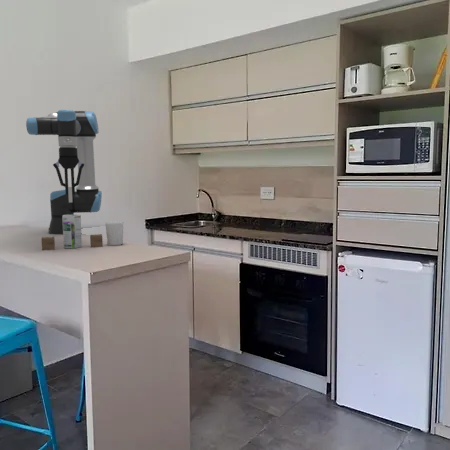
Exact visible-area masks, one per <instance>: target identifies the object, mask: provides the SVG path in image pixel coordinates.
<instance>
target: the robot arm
mask: <svg viewBox="0 0 450 450" xmlns="http://www.w3.org/2000/svg"><path fill="white" fill-rule="evenodd" d="M96 115H97V114H96V113H95V112H94V111H90V110H89V111H87V110H73V109H72V110H71V109H59V110H57V111H56V112H52V113H49V114H48V115H47V116H46V115H45V116H42V117H36V116H35V117H28V118H26V123H25V126H26V131H27V133H28V134H29V135H31V136H32V135H33V136H57V137H58V138H57V139H58V140H57V141H58V147H59V148H58V160H57V161H56V162H55V163H53V164H52V166H53V167H54V169H55V170H56V174H57V177H58V181H59V183H60V186H61V187H63V188H65V189H61V190H54V191H51V192H50V198H49V201H50V218H51V219H50V223H49V227H48V234H51V235H52V234H54V235H60V234H61V235H63V221H62V215H66V214H73V215H75V214H77V213H81V214H82V213H83V214H84V213H90V214H92V213H97V212H100V211H101V205H102V191H101V190H99V187H98V186H97V184H96V172H95V171H96V169H95V152H94V151H95V150H94V140H95V139H96V137H97V134H99V131H100V130H99V125H98V119H97V116H96ZM60 166H61V167H62V169H64V181H63V177H62V173H61V170H60ZM76 167H77V177H76V182H75V170H74V169H75V168H76ZM69 170H70V180H71V186H69V179H68V177H69V175H68V171H69ZM75 187H76V188H75ZM75 190H76V191H75Z"/></svg>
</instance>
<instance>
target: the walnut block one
mask: <svg viewBox="0 0 450 450" xmlns="http://www.w3.org/2000/svg"><path fill="white" fill-rule="evenodd" d="M89 237H90V238H89V239H90V240H89V242H90V248H101V247H102V248H103V247H104V245H103V242H104V241H103V233H102V234H101V233H100V234H99V233H98V234H96V233H95V234H89Z"/></svg>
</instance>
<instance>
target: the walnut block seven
mask: <svg viewBox="0 0 450 450" xmlns="http://www.w3.org/2000/svg"><path fill="white" fill-rule="evenodd" d="M55 249H56V243H55V236H41V251H50V250H51V251H52V250H53V251H54V250H55Z"/></svg>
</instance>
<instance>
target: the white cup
mask: <svg viewBox="0 0 450 450" xmlns="http://www.w3.org/2000/svg"><path fill="white" fill-rule="evenodd" d="M105 233H106V242H107V246H121V244H122V245H124V221H107V222H105Z"/></svg>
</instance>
